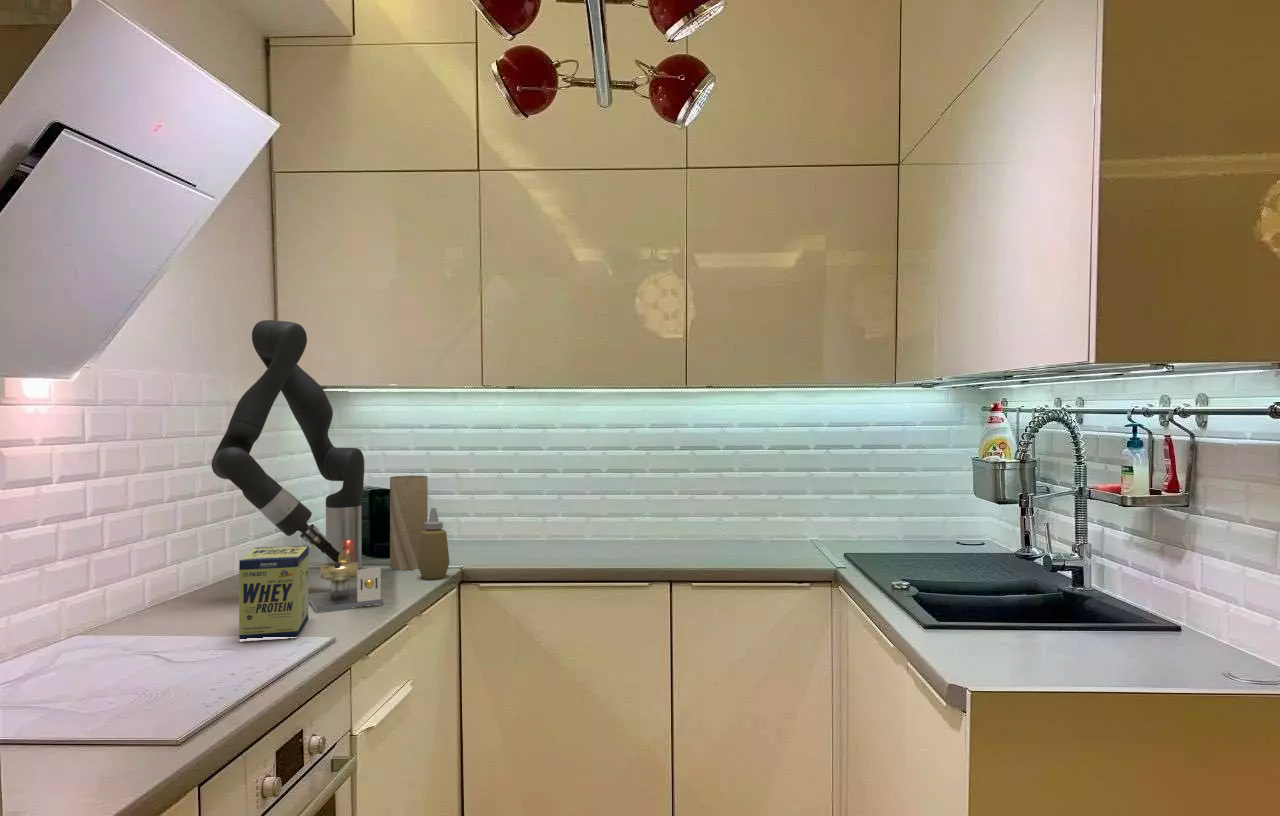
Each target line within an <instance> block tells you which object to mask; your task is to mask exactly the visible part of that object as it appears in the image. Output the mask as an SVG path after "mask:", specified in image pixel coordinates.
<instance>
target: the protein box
mask: <svg viewBox="0 0 1280 816" xmlns="http://www.w3.org/2000/svg"><path fill="white" fill-rule="evenodd" d="M309 547H310V546H309V545H289V546H286V545H283V546H260V547H259V546H258V547H255V548H253V549H252V550H251V551H250V552H249V553H247V554H246V555H245V556H244V557H242V558H241V559H239V560H238V562H239V565H238V566H239V567H238V568H239V569H238V570H239V571H238V576H239V577H238V578H239V579H238V584H239V585H238V587H239V588H238V590H239V591H238V592H239V593H238V594H239V597H238V601H239V602H238V603H239V604H238V607H239V608H238V609H239V610H238V615H239V616H238V617H239V618H238V623H239V624H238V627H239V628H238V629H239V630H238V632H239V633H238V634H239V635H238V637H239V638H238V639H247V638H263V637H297V636H298V635H299V634H301V633H302V631H303V629H304V628H305V626H304V625H306V624H307V622H308V620H309V602H308V596H309V594H310V593H309V592H310V591H309V589H310V588H309V563H310V562H309V560H310V559H309V557H310V556H309V555H310V553H309V552H310V551H309V550H310V548H309ZM305 623H306V624H305ZM303 627H304V628H303ZM301 630H302V631H301ZM300 632H301V633H300ZM299 636H300V635H299ZM299 636H298V637H299Z"/></svg>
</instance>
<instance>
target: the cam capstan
mask: <svg viewBox="0 0 1280 816" xmlns="http://www.w3.org/2000/svg"><path fill="white" fill-rule="evenodd" d="M342 549H343V551H342V552H341V553H340V555H339V556H338V562H334V563H327V564H326V563H324V564H322V565H320V579H322V580H326V581H327V580H328V581H330V580H342V579H349V580H350V579H354V578H356V570H357V569H358V563H356V562H354V540H353V539H346V540H342Z"/></svg>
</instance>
